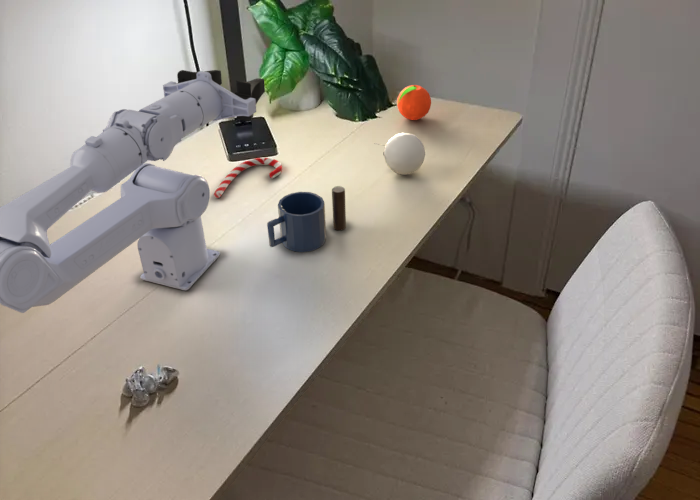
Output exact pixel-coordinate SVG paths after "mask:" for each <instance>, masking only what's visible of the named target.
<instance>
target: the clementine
mask: <svg viewBox="0 0 700 500" xmlns="http://www.w3.org/2000/svg"><path fill="white" fill-rule="evenodd" d="M396 104H397V105H396V106H397V110H398V112H399V114H401V116H402V117H404V118H405V119H407V120H410V121H419V120H421V119H423V118H424V117H425V116H427V114H428V113H429V112H430V110H431V107H432V99H431V95H430V92H428V90H427V89H426V88H424V87H422V86H421V85H418V84H411V85H408V86H406V87H404V88H403V89H402V90H401V91H400V92H399V94H398V95H397V100H396Z"/></svg>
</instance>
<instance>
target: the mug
mask: <svg viewBox="0 0 700 500" xmlns="http://www.w3.org/2000/svg"><path fill="white" fill-rule="evenodd" d="M325 203H326V202H325V200H324V198H323V197H322V196H320V195H319V194H318V193H315V192H311V191H297V192H291V193H288V194H286V195H284V196H283V197H281V198H280V199H279V201H278V203H277V213H278V217H276V218H274V219H271V220H269V221H268V222H267V223H266V226H267V235H268V244H269V245H268V246H269V247H270V248H275V247H276V246H279V245H281V244H282V246H283V247H284V248H286V249H287V250H289V251H292V252H296V253H297V252H298V253H307V252H312V251H315V250H317V249H320V248H321V247H322V246H323V245H324V244H325V242H326V240H327V226H326V225H327V223H326V205H325ZM277 225H279V234H280V237H278V238H276V237H275V228H274V227H275V226H277Z"/></svg>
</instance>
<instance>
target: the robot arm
mask: <svg viewBox="0 0 700 500" xmlns="http://www.w3.org/2000/svg"><path fill="white" fill-rule="evenodd" d="M176 77H177V82H176V81H172V80H171V81H168V82H167V83H164V84H162V90H163V97H162V98H159V99H158V100H156V101H154V102H152V103H150V104H148V105H146V106H145V107H142V108H140V109H139V110H134V109H125V108H123V109H120V110H116V111H114V112H113V113H112V114H111V116H110V117H109V119H108V122H107V125H106V127H105V128H103V129H102V132H101V133H100V134H98V135H97V136H94V135H90V136H89V137H87V138H86V139H85V140H84V143H85V144H84V145H82V146H81V147H79V148H78V149H76V150H75V151H73V152H72V154H71V157H70V165H69V166H68V168H66V169H64V170H62V171H60V172H59V173H57V174H56V175H54V176H52V177H50V178H49V179H47V180H46V181H43V182H42V183H39V185H36V186H35V187H33V188H32V189H30V190H28V191H26V192H25V193H23V194H21V195H20V196H18V197H15V198H14V199H13V200H11V201H9V202H7V203H6V204H4V205H1V206H0V305H1V306H3V307H7V308H8V309H11V310H13V311H16V312H18V313H21V314H24V313H27V311H29V310H30V309H32V308H35V307H42V306H49V305H51V304H53V303H55V302H56V301H57V300H58V299H60V298H61V297H63V296H64V295H65V294H66V293H68V292H69V291H71V290H72V289H73V288H75V287H76V286H77V285H79V284H80V283H81V282H83V281H84V280H85V279H87V278H88V277H89V276H90V275H92V274H93V273H95V272H97V270H99V269H100V268H101V267H103V266H104V265H105V264H107V263H108V262H109V261H111V260H112V259H113V258H115V257H116V256H118V255H119V254H120V253H121V252H123V251H124V250H126V249H127V248H128V247H130V246H131V245H132V244H134V243H135V242H136V241H137V245H136V246H137V251H138V255H139V259H140V263H141V267H142V271H143V272H142V273H141V275H140V279H141V280H142V281H146V282H150V283H154V284H157V285H162V286H166V287H170V288H173V289H178V290H182V291H189V289H191V287H192V286H193V285H194V284H195V283H196V282H197V281H198V280H199V279H200V277H201V276H202V275H204V273H205V272H206V271H207V270H208V269H209V268H210V267H211V265H213V263H215V261H216V260H217V259H218V258H219V257H220V256H221V252H220V251H218V250H215V249H210V248H208V247H207V242H206V237H205V231H204V226H203V220H202V216H203V214H204V213H205V211H206V210H207V208H208V206H209V202H210V196H211V193H210V192H211V191H210V186H209V183H208V181H207V179H206V178H205V177H204V176H202V175H201V174H200V175H199V174H190V173H185V172H182V171H178V170H174V169H169V168H166V167H161V166H157V165H155V164H152V163H150V162H149V163H148V162H147V161H151V162H157V161H159V160H160V161H163V162H165V161H166V160H168V159H169V157H170V156H171V155H172V152H173V150H174V149H175V147H176V145H177V144H179V143H181V142H182V139H183V138H185V137H187V136H189V135H191V134H192V133H194V132H195V131H197V130H199V129H201V128H202V127H204V126H206V125H207V124H209V123H211V122H215V121H219V120H226V119H230V118H236V120H240V121H245V122H249V121H250V120H252V119H253V118H254V114H256V113H257V104H258V102H259V100H260V99H261V98H262V96H263V95H264V94H265V92H266V86H265V79H264V78H260V77H259V78H254V79H251V80H248V81H240V80H235V87H236V92H235V93H234V92H232V91H230V90H228V89H227V88H225V87H224V86H222V84H223V80H222V79H223V78H222V70H219V69H210V70H205V71H204V70H200V71H189V70H185V69H181V70H179V71H178V72H177V76H176ZM146 162H147V163H146ZM131 174H132V175H131ZM129 175H131V176H130V177H129V178H128V179H127V180H126V181H124V182H123V183H122V184H121V185H120V198H119V199H117V200H115V201H114V202H112V203H110V205H108V206H106V207H105V208H103V209H102V210H100V211H99V212H97V213H96V214H94V215H92V216H91V217H89V218H88V219H87V220H85V221H83V222H82V223H80V224H79V225H77V226H76V227H75V228H73V229H71V230H69V231H68V232H67V233H65V234H64V235H62V236H60V237H59V238H58V239H56V240H54V241H53V242H52V243H50V240H49V237H48V230H49V229H50V228H51V227H52V226H53V225H54V224H56V222H57V221H59V220H60V219H61V218H62V217H63V216H65V215H66V213H68V212H69V211H70V210H71V209H73V207H75V206H76V205H77V204H78V203H79V202H80V201H81V200H82V199H84V198H85V197H86V196H87V195H88V194H89V193H90V192H95V193H101V194H103V193H107V192H108V191H110V190H111V189H113V187H115V186H116V185H117V184H119V183H120V182H121V181H123V180H124V179H125V178H127V177H128V176H129Z"/></svg>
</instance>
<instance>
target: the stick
mask: <svg viewBox="0 0 700 500" xmlns="http://www.w3.org/2000/svg"><path fill="white" fill-rule="evenodd" d="M331 201H332V202H331V203H332V204H331V205H332V225H333V226H332V227H333V229H334V230H335V231H344V230H345V229H346V228H347V218H346V217H347V216H346V215H347V214H346V213H347V212H346V211H347V210H346V188H345V187H344V186H342V185H335V186H333V187H332V188H331Z"/></svg>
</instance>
